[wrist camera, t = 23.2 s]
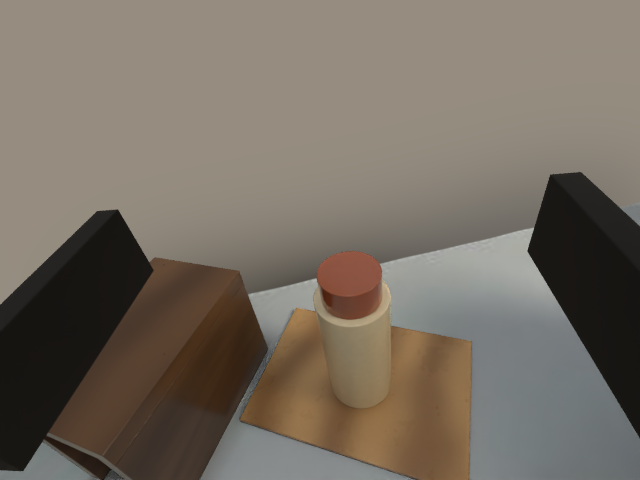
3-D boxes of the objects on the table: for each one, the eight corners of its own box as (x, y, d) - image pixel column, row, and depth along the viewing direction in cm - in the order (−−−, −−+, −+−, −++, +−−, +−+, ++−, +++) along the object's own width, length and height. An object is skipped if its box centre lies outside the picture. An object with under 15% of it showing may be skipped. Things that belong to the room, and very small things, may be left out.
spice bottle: (396, 359, 35) (397, 250, 27) (384, 416, 31) (381, 310, 22) (340, 346, 37) (323, 242, 29) (322, 399, 33) (296, 295, 24)
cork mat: (471, 343, 36) (471, 341, 36) (468, 497, 26) (469, 495, 26) (296, 309, 43) (295, 307, 43) (240, 421, 33) (239, 419, 33)
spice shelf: (268, 348, 39) (239, 270, 32) (179, 517, 27) (102, 456, 20) (195, 331, 42) (154, 257, 35) (90, 475, 31) (-4, 409, 24)
